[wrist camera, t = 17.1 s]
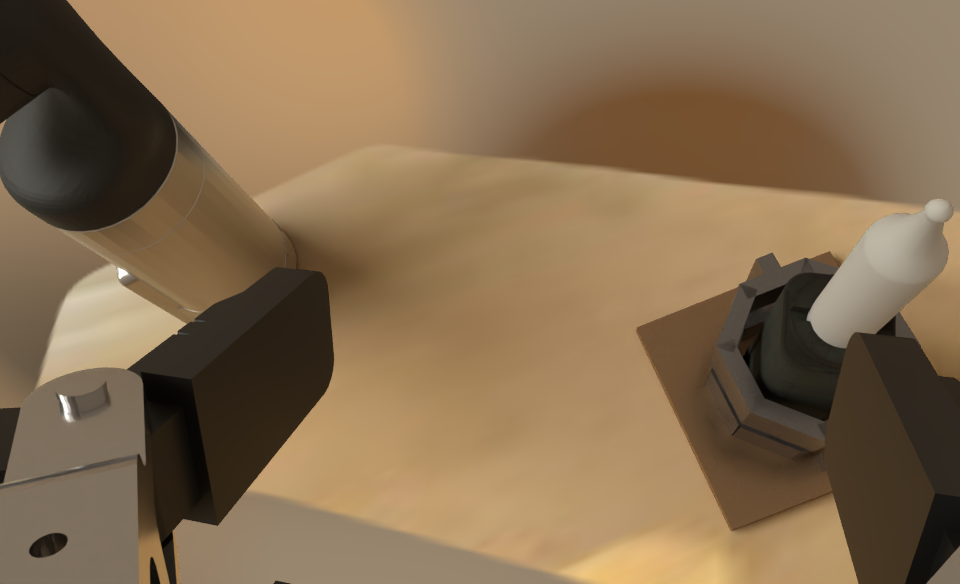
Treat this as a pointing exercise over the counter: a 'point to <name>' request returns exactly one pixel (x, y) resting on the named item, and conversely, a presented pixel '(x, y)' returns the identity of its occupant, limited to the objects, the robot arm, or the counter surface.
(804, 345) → the bottle
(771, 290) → the collar stand
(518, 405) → the counter surface
